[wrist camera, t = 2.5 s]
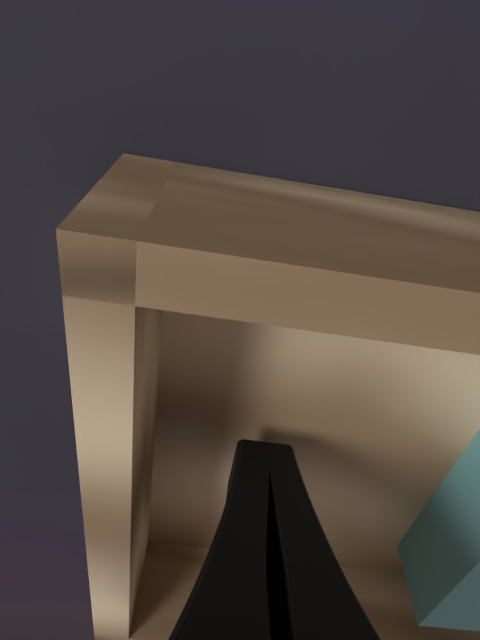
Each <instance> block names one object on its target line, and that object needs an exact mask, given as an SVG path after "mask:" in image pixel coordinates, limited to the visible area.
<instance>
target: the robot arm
mask: <svg viewBox="0 0 480 640" xmlns="http://www.w3.org/2000/svg"><path fill="white" fill-rule="evenodd" d="M168 640H381V639H380V638H379V636H378V634H377V632H376V631H375V629H374V627H373V626H372V624H371V622H370V621H369V619H368V617H367V615H366V614H365V612H364V610H363V608H362V607H361V605H360V603H359V601H358V600H357V598H356V596H355V594H354V592H353V590H352V588H351V587H350V585H349V583H348V581H347V579H346V577H345V575H344V573H343V571H342V569H341V567H340V565H339V563H338V561H337V559H336V557H335V555H334V553H333V551H332V548H331V546H330V544H329V542H328V540H327V538H326V535H325V533H324V531H323V529H322V526H321V524H320V522H319V519H318V517H317V515H316V512H315V510H314V508H313V505H312V503H311V500H310V498H309V495H308V492H307V490H306V487H305V484H304V482H303V479H302V476H301V473H300V470H299V467H298V464H297V461H296V458H295V455H294V451H293V448H292V447H291V446H290V445H287V444H279V443H271V442H262V441H254V440H246V439H242V440H240V441H238V442H237V446H236V450H235V455H234V459H233V463H232V468H231V472H230V476H229V481H228V487H227V496H226V502H225V507H224V510H223V513H222V516H221V519H220V522H219V525H218V528H217V530H216V533H215V536H214V538H213V541H212V543H211V546H210V549H209V551H208V554H207V556H206V559H205V561H204V564H203V566H202V568H201V571H200V573H199V575H198V578H197V580H196V582H195V584H194V587H193V589H192V591H191V593H190V596H189V598H188V600H187V602H186V604H185V606H184V608H183V610H182V613H181V615H180V617H179V619H178V621H177V623H176V625H175V627H174V629H173V631H172V633H171V635H170V637H169V639H168Z"/></svg>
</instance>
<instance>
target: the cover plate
mask: <svg viewBox="0 0 480 640" xmlns="http://www.w3.org/2000/svg"><path fill="white" fill-rule="evenodd" d="M397 547H398V551H399V555H400V559H401V562H402V566H403V570H404V574H405V577H406V581H407V585H408V589H409V593H410V596H411V600H412V604H413V608H414V611H415V615H416V619H417V623H418V626H427V627H438V628H448V629H459V630H469V631H479V632H480V429H479V430H478V432H477V433H476V435H475V436H474V437H473V439H472V440H471V442H470V443H469V444H468V446H467V447H466V449H465V450H464V452H463V453H462V454H461V456H460V457H459V459H458V460H457V461H456V463H455V464H454V466H453V467H452V469H451V470H450V471H449V473H448V474H447V476H446V477H445V478H444V480H443V481H442V483H441V484H440V486H439V487H438V488H437V490H436V491H435V493H434V494H433V495H432V497H431V498H430V500H429V501H428V503H427V504H426V505H425V507H424V508H423V510H422V511H421V512H420V514H419V515H418V517H417V518H416V519H415V521H414V522H413V524H412V525H411V527H410V528H409V529H408V531H407V532H406V534H405V535H404V536H403V538H402V539H401V541H400V542H399V544H398V545H397Z"/></svg>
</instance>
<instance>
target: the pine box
mask: <svg viewBox="0 0 480 640" xmlns="http://www.w3.org/2000/svg"><path fill="white" fill-rule="evenodd" d="M56 235H57V245H58V256H59V267H60V277H61V288H62V298H63V309H64V320H65V330H66V341H67V351H68V362H69V372H70V383H71V394H72V404H73V415H74V425H75V436H76V446H77V457H78V468H79V478H80V489H81V499H82V510H83V520H84V531H85V542H86V552H87V563H88V573H89V584H90V595H91V605H92V616H93V626H94V637H95V640H168V639H169V637H170V635H171V633H172V631H173V629H174V627H175V625H176V623H177V621H178V619H179V617H180V615H181V613H182V610H183V608H184V606H185V604H186V602H187V600H188V598H189V596H190V593H191V591H192V589H193V587H194V584H195V582H196V580H197V578H198V575H199V573H200V571H201V568H202V566H203V564H204V561H205V559H206V556H207V554H208V551H209V549H210V546H211V543H212V541H213V538H214V536H215V533H216V530H217V528H218V525H219V522H220V519H221V516H222V513H223V510H224V507H225V502H226V496H227V487H228V481H229V476H230V472H231V468H232V463H233V459H234V455H235V450H236V446H237V442H238V441H240V440H242V439H246V440H254V441H262V442H271V443H279V444H287V445H290V446H291V447H292V448H293V451H294V455H295V458H296V461H297V464H298V467H299V470H300V473H301V476H302V479H303V482H304V484H305V487H306V490H307V492H308V495H309V498H310V500H311V503H312V505H313V508H314V510H315V512H316V515H317V517H318V519H319V522H320V524H321V526H322V529H323V531H324V533H325V535H326V538H327V540H328V542H329V544H330V546H331V548H332V551H333V553H334V555H335V557H336V559H337V561H338V563H339V565H340V567H341V569H342V571H343V573H344V575H345V577H346V579H347V581H348V583H349V585H350V587H351V588H352V590H353V592H354V594H355V596H356V598H357V600H358V601H359V603H360V605H361V607H362V608H363V610H364V612H365V614H366V615H367V617H368V619H369V621H370V622H371V624H372V626H373V627H374V629H375V631H376V632H377V634H378V636H379V638H380V639H381V640H480V632H479V631H469V630H459V629H448V628H438V627H427V626H418V623H417V619H416V615H415V611H414V608H413V604H412V600H411V596H410V593H409V589H408V585H407V581H406V577H405V574H404V570H403V566H402V562H401V559H400V555H399V551H398V547H397V545H398V544H399V542H400V541H401V539H402V538H403V536H404V535H405V534H406V532H407V531H408V529H409V528H410V527H411V525H412V524H413V522H414V521H415V519H416V518H417V517H418V515H419V514H420V512H421V511H422V510H423V508H424V507H425V505H426V504H427V503H428V501H429V500H430V498H431V497H432V495H433V494H434V493H435V491H436V490H437V488H438V487H439V486H440V484H441V483H442V481H443V480H444V478H445V477H446V476H447V474H448V473H449V471H450V470H451V469H452V467H453V466H454V464H455V463H456V461H457V460H458V459H459V457H460V456H461V454H462V453H463V452H464V450H465V449H466V447H467V446H468V444H469V443H470V442H471V440H472V439H473V437H474V436H475V435H476V433H477V432H478V430H479V429H480V212H477V211H471V210H465V209H459V208H453V207H446V206H440V205H434V204H428V203H422V202H416V201H410V200H404V199H398V198H392V197H386V196H380V195H374V194H368V193H362V192H356V191H349V190H343V189H337V188H331V187H325V186H319V185H313V184H307V183H301V182H295V181H289V180H283V179H277V178H271V177H265V176H258V175H252V174H246V173H240V172H234V171H228V170H222V169H216V168H210V167H204V166H198V165H192V164H186V163H180V162H174V161H168V160H161V159H155V158H149V157H143V156H137V155H131V154H125V153H123V155H122V156H121V157H120V158H119V159H118V160H117V161H116V162H115V164H114V165H113V166H112V167H111V168H110V169H109V170H108V171H107V172H106V174H105V175H104V176H103V177H102V178H101V179H100V180H99V181H98V183H97V184H96V185H95V186H94V187H93V188H92V189H91V190H90V191H89V193H88V194H87V195H86V196H85V197H84V198H83V199H82V200H81V202H80V203H79V204H78V205H77V206H76V207H75V208H74V209H73V210H72V212H71V213H70V214H69V215H68V216H67V217H66V218H65V219H64V220H63V222H62V223H61V224H60V225H59V226H58V227H57V228H56Z"/></svg>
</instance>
